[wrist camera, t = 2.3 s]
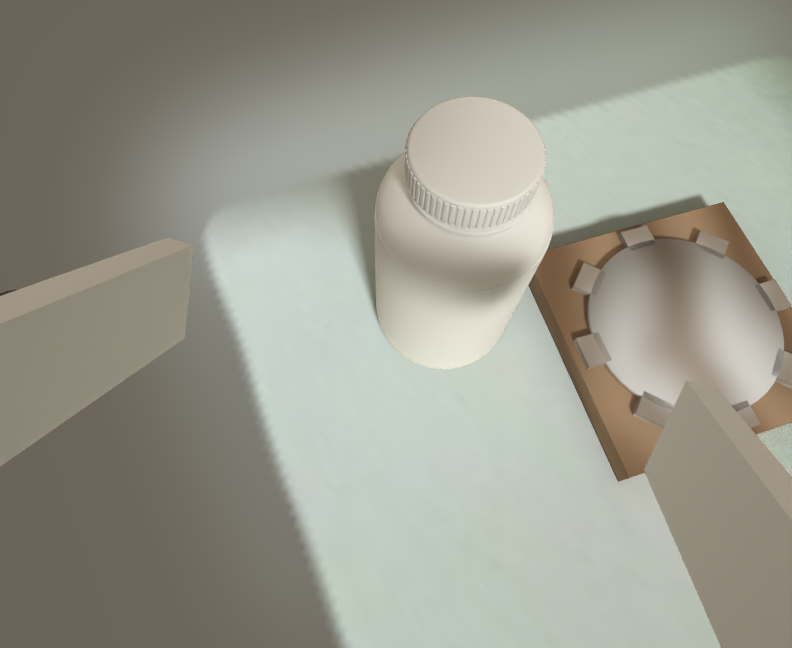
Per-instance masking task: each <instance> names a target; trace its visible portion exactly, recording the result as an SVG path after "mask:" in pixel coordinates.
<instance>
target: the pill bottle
mask: <svg viewBox="0 0 792 648" xmlns="http://www.w3.org/2000/svg"><path fill="white" fill-rule="evenodd" d="M545 156H546V151H545V146H544V143H543V140H542V138H541V136H540V134H539V132H538V130H537V129H536V127H535V126H534V124H533V123H532V122H531V121H530V120H529V119H528V118H527V117H526V116H525V115H524V114H522V113H521V112H520V111H518V110H516V109H515V108H513V107H512V106H510V105H508V104H505V103H503V102H500V101H497V100H494V99H489V98H484V97H460V98H455V99H451V100H447V101H444V102H442V103H440V104H438V105H436V106H434V107H432V108H431V109H429V110H428V111H426V113H424V114H423V115H422V116H421V117H420V118H419V119H418V120H417V122H416V123H415V124H414V125H413V127H412V128H411V131H410V132H409V134H408V138H407V141H406V147H405V152H404V153H403V154H402V155H401V156H399V157H398V158H397V159H396V161H395V162H394V163H393V164H392V165H391V167H390V168H389V169H388V171H387V173H386V174H385V176H384V178H383V180H382V182H381V184H380V186H379V189H378V192H377V196H376V201H375V211H374V225H375V274H376V310H377V316H378V320H379V324H380V327H381V329H382V331H383V333H384V335H385V337H386V339H387V340H388V342H389V343H390V344H391V345H392V347H393V348H394V349H395V350H396V351H397V352H398V353H400V354H401V355H402V356H404V357H405V358H407V359H408V360H410V361H412V362H414V363H416V364H419V365H421V366H425V367H429V368H434V369H453V368H458V367H462V366H465V365H468V364H470V363H473V362H475V361H476V360H478V359H480V358H481V357H482V356H484V355H485V354H486V353H487V352H488V351H489V350H490V349H491V348H492V347H493V346H494V345H495V344H496V343H497V341H498V340H499V338H500V337H501V335H502V333H503V331H504V329H505V327H506V326H507V324H508V322H509V320H510V318H511V316H512V314H513V313H514V311H515V309H516V307H517V305H518V303H519V301H520V300H521V298H522V296H523V294H524V292H525V290H526V288H527V287H528V285H529V283H530V281H531V279H532V277H533V275H534V274H535V272H536V270H537V268H538V266H539V264H540V262H541V261H542V259H543V257H544V255H545V253H546V251H547V248H548V246H549V244H550V241H551V238H552V234H553V228H554V208H553V201H552V197H551V193H550V190H549V188H548V185H547V183H546V181H545V179H544V177H543V173H544V170H545V166H546V157H545Z"/></svg>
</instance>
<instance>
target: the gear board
mask: <svg viewBox="0 0 792 648" xmlns="http://www.w3.org/2000/svg"><path fill="white" fill-rule="evenodd" d="M529 287H530V289H531V291H532V293H533V296H534V298H535V300H536V302H537V304H538V307H539V309H540V311H541V313H542V315H543V318H544V320H545V322H546V324H547V326H548V329H549V331H550V333H551V335H552V337H553V340H554V342H555V344H556V346H557V348H558V350H559V353H560V355H561V357H562V359H563V361H564V364H565V366H566V368H567V370H568V372H569V375H570V377H571V379H572V381H573V383H574V386H575V388H576V390H577V392H578V394H579V397H580V399H581V401H582V403H583V405H584V407H585V410H586V412H587V414H588V416H589V418H590V421H591V423H592V425H593V427H594V429H595V432H596V434H597V436H598V438H599V440H600V443H601V445H602V447H603V449H604V451H605V454H606V456H607V458H608V460H609V462H610V464H611V467H612V469H613V471H614V473H615V475H616V478H617V480H618V481H621V480H624V479H627V478H630V477H633V476H636V475H639V474H642V473H645V472H644V469H645V467H646V464H647V462H648V460H649V458H650V456H651V454H652V452H653V450H654V448H655V446H656V443H657V441H658V439H659V437H660V435H661V433H662V431H663V429H664V427H665V424H666V422H667V420H668V418H669V416H670V414H671V412H672V410H673V408H674V406H675V403H676V401H677V399H678V397H679V395H680V393H681V391H682V389H683V387H684V384H685V382H686V380H687V381H690V382H694V383H698V384H701V385H705V386H709V387H712V388H716V389H718V390H719V392H720V393H721V394H722V395H723V396H724V398H725V399H726V400H727V401H728V402H729V403H730V405H731V406H732V407H733V408H734V409H735V411H736V412H737V413H738V414H739V415H740V416H741V418H742V419H743V420H744V421H745V422H746V424H747V425H748V426H749V427H750V428H751V429H752V431H753V432H754V433H755V434H759V433H762V432H765V431H768V430H771V429H774V428H777V427H780V426H782V425H785V424H788V423H791V422H792V307H791V304H790V302H789V301H788V299H787V298H786V296H785V294H784V293H783V291H782V290H781V288H780V287H779V285H778V284H777V282H776V281H775V279H773V278H772V276H771V275H770V273H769V271H768V270H767V268H766V267H765V265H764V264H763V262H762V261H761V259H760V258H759V256H758V255H757V253H756V251H755V250H754V248H753V247H752V245H751V244H750V242H749V241H748V239H747V238H746V236H745V235H744V233H743V231H742V230H741V228H740V227H739V225H738V224H737V222H736V221H735V219H734V218H733V216H732V215H731V213H730V211H729V210H728V208H727V207H726V205H725V204H724V202H722V203H718V204H715V205H711V206H707V207H704V208H700V209H696V210H693V211H689V212H685V213H681V214H678V215H674V216H670V217H667V218H663V219H659V220H656V221H652V222H648V223H645V224H641V225H637V226H634V227H630V228H626V229H622V230H619V231H615V232H611V233H608V234H604V235H600V236H597V237H593V238H589V239H586V240H582V241H578V242H574V243H571V244H567V245H563V246H560V247H556V248H552V249H549V250H547V251H546V253H545V255H544V257H543V259H542V261H541V262H540V264H539V266H538V268H537V270H536V272H535V274H534V275H533V277H532V279H531V281H530V283H529Z"/></svg>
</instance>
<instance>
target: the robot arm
mask: <svg viewBox="0 0 792 648" xmlns="http://www.w3.org/2000/svg"><path fill="white" fill-rule="evenodd" d="M193 248H194V245H191V244H188V243H184V242H180V241H177V240H173V239H170V238H165V239H162V240H159V241H156V242H153V243H150V244H148V245H145V246H142V247H139V248H136V249H133V250H130V251H128V252H125V253H122V254H119V255H116V256H113V257H110V258H107V259H105V260H102V261H99V262H96V263H93V264H91V265H87V266H85V267H82V268H79V269H76V270H73V271H70V272H68V273H65V274H62V275H59V276H56V277H53V278H50V279H48V280H45V281H42V282H39V283H36V284H33V285H31V286H28V287H25V288H22V289H19V290H11V291H6V292H4V293H1V294H0V466H1V465H3V464H4V463H6V462H7V461H9V460H10V459H11V458H13V457H14V456H16V455H17V454H18V453H20V452H21V451H23V450H24V449H26V448H27V447H29V446H30V445H31V444H33V443H34V442H36V441H37V440H39V439H40V438H42V437H43V436H44V435H46V434H47V433H49V432H50V431H52V430H53V429H55V428H56V427H57V426H59V425H60V424H62V423H63V422H64V421H66V420H67V419H69V418H70V417H72V416H73V415H75V414H76V413H77V412H79V411H80V410H82V409H83V408H85V407H86V406H87V405H89V404H90V403H92V402H93V401H94V400H96V399H97V398H99V397H100V396H102V395H103V394H105V393H106V392H107V391H109V390H111V389H112V388H113V387H115V386H116V385H118V384H119V383H121V382H122V381H123V380H125V379H126V378H128V377H129V376H131V375H132V374H134V373H135V372H136V371H138V370H139V369H141V368H142V367H143V366H145V365H146V364H148V363H149V362H151V361H152V360H154V359H155V358H156V357H158V356H159V355H161V354H162V353H164V352H165V351H167V350H168V349H169V348H171V347H172V346H174V345H175V344H177V343H178V342H180V341H181V340H182V339H184V338H185V329H186V318H187V308H188V298H189V288H190V277H191V268H192V257H193ZM644 472H645V474H646V476H647V478H648V481H649V483H650V485H651V488H652V490H653V492H654V494H655V497H656V499H657V501H658V504H659V506H660V508H661V511H662V513H663V515H664V517H665V520H666V522H667V524H668V527H669V529H670V531H671V533H672V536H673V538H674V540H675V543H676V545H677V547H678V550H679V552H680V554H681V556H682V559H683V561H684V563H685V566H686V568H687V570H688V572H689V575H690V577H691V579H692V582H693V584H694V586H695V589H696V591H697V593H698V595H699V598H700V600H701V602H702V605H703V607H704V609H705V611H706V614H707V616H708V618H709V621H710V623H711V625H712V628H713V630H714V632H715V634H716V637H717V639H718V641H719V644H720V646H721V648H792V477H791V476H790V474H789V473H788V472H787V471H786V470H785V468H784V467H783V466H782V465H781V464H780V463H779V461H778V460H777V459H776V458H775V457H774V455H773V454H772V453H771V452H770V451H769V450H768V448H767V447H766V446H765V445H764V444H763V442H762V441H761V440H760V439H759V438H758V437H757V435H756V434H755V433H754V432H753V431H752V429H751V428H750V427H749V426H748V425H747V424H746V422H745V421H744V420H743V419H742V418H741V416H740V415H739V414H738V413H737V412H736V411H735V409H734V408H733V407H732V406H731V405H730V403H729V402H728V401H727V400H726V399H725V398H724V396H723V395H722V394H721V393H720V392H719V390H718V389H716V388H712V387H709V386H705V385H701V384H698V383H694V382H690V381H687V380H686V382H685V384H684V387H683V389H682V391H681V393H680V395H679V397H678V399H677V401H676V403H675V406H674V408H673V410H672V412H671V414H670V416H669V418H668V420H667V422H666V424H665V427H664V429H663V431H662V433H661V435H660V437H659V439H658V441H657V443H656V446H655V448H654V450H653V452H652V454H651V456H650V458H649V460H648V462H647V464H646V467H645V469H644Z"/></svg>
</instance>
